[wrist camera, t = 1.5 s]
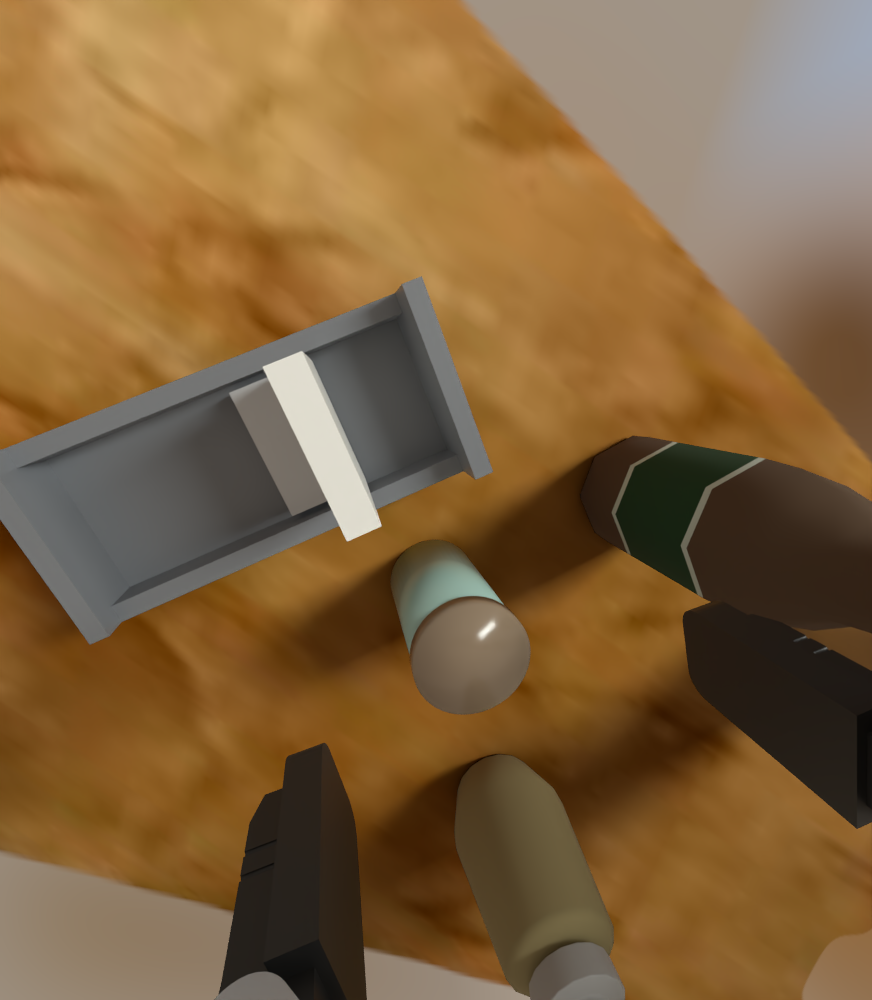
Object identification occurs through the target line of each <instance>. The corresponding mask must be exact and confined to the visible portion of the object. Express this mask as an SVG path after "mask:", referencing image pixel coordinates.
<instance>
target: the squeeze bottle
mask: <svg viewBox="0 0 872 1000" xmlns="http://www.w3.org/2000/svg"><path fill="white" fill-rule="evenodd" d="M454 834H455V842H456V850H457V852H458V855H459V858H460V860H461V863H462V865H463V868H464V871H465V873H466V876H467V878H468V881H469V884H470V886H471V889H472V891H473V894H474V897H475V899H476V902H477V904H478V907H479V910H480V912H481V915H482V918H483V920H484V923H485V925H486V928H487V931H488V933H489V936H490V938H491V941H492V944H493V946H494V949H495V951H496V954H497V957H498V959H499V962H500V964H501V967H502V970H503V972H504V975H505V977H506V980H507V981H508V982H509V983H510V985H511V986H512V987H513V988H514V990H515V991H516V992H519V993H521V994H524V995H527V996H529V997H530V999H531V1000H625V988H624V986H623V984H622V982H621V980H620V978H619V975H618V973H617V971H616V969H615V967H614V965H613V963H612V961H611V959H610V957H609V955H610V953H611V950H612V947H613V944H614V933H613V925H612V922H611V920H610V917H609V915H608V913H607V910H606V908H605V905H604V903H603V901H602V898H601V896H600V893H599V891H598V888H597V886H596V884H595V881H594V879H593V876H592V874H591V872H590V869H589V867H588V864H587V862H586V859H585V857H584V855H583V852H582V850H581V847H580V845H579V843H578V840H577V838H576V835H575V833H574V830H573V828H572V826H571V823H570V821H569V818H568V816H567V814H566V811H565V809H564V806H563V804H562V802H561V800H560V798H559V797H558V795H557V793H556V792H555V790H554V788H553V787H552V786H550V785H549V784H548V783H547V782H546V781H545V780H544V779H542V778H541V777H540V776H539V775H538V774H537V773H535V772H534V771H533V770H532V769H531V768H530V767H529V766H527V765H526V764H525V763H524V762H523V761H521V760H519V759H517V758H516V757H514V756H510V755H501V754H498V755H494V756H490V757H486V758H483V759H482V760H480V761H479V762H477V763H475V764H474V765H472V766H471V767H470V768H469V770H468V771H467V772H466V773H465V774H464V776H463V777H462V779H461V782H460V785H459V788H458V791H457V803H456V816H455V829H454Z"/></svg>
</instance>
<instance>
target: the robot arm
mask: <svg viewBox="0 0 872 1000" xmlns="http://www.w3.org/2000/svg"><path fill="white" fill-rule="evenodd" d="M683 628H684V636H685V644H686V653H687V661H688V669H689V674H690V677H691V679H692V681H693V684H694V685H695V687H696V689H697V690H698V692H699V693H700V694H701V695H702V696H703V698H704V699H706V700H707V701H708V702H709V703H710V704H711V705H712V706H714V707H715V708H716V709H717V710H718V711H719V712H721V713H722V714H723V715H724V716H725V717H727V718H728V719H729V720H730V721H731V722H732V723H734V724H735V725H736V726H737V727H738V728H739V729H741V730H742V731H743V732H744V733H745V734H746V735H748V736H749V737H750V738H751V739H752V740H753V741H755V742H756V743H757V744H758V745H759V746H760V747H762V748H763V749H764V750H765V751H766V752H768V753H769V754H770V755H771V756H772V757H773V758H775V759H776V760H777V761H778V762H779V763H780V764H782V765H783V766H784V767H785V768H786V769H787V770H789V771H790V772H791V773H792V774H793V775H794V776H796V777H797V778H798V779H799V780H800V781H801V782H803V783H804V784H805V785H806V786H807V787H808V788H810V789H811V790H812V791H813V792H814V793H816V794H817V795H818V796H819V797H820V798H821V799H823V800H824V801H825V802H826V803H827V804H828V805H830V806H831V807H832V808H833V809H834V810H835V811H837V812H838V813H839V814H840V815H841V816H842V817H844V818H845V819H846V820H847V821H848V822H849V823H851V824H852V825H853V826H854V827H855V828H857V829H858V828H860V827H862V826H864V825H867V824H869V823H871V822H872V634H871V633H869V632H866V631H862V630H859V629H856V628H853V627H846V628H837V629H827V630H817V631H812V630H806V629H800V628H794V627H789V626H788V625H786V624H784V623H782V622H779V621H776V620H772V619H769V618H765V617H762V616H758V615H754V614H750V615H747V614H745V613H743V612H741V611H740V610H738V609H736V608H734V607H733V606H731V605H729V604H727V603H725V602H723V601H720V600H717V601H713V602H711V603H708V604H705V605H702V606H700V607H697V608H694V609H691V610H689V611H686V612H685V613H684V615H683ZM240 876H241V882H239V887H238V892H237V898H236V904H235V909H234V915H233V921H232V926H231V932H230V938H229V943H228V949H227V955H226V960H225V966H224V971H223V977H222V982H221V987H220V991H219V995H218V996H217V997H216V998H215V999H214V1000H367V997H366V980H365V964H364V947H363V931H362V915H361V898H360V882H359V866H358V850H357V834H356V827H355V821H354V816H353V812H352V808H351V804H350V801H349V798H348V796H347V793H346V791H345V788H344V786H343V783H342V781H341V778H340V775H339V773H338V770H337V768H336V765H335V763H334V760H333V758H332V755H331V753H330V750H329V748H328V746H327V745H326V744H325V743H322V744H320V745H317V746H314V747H312V748H309V749H306V750H303V751H301V752H298V753H295V754H292V755H290V756H288V757H287V759H286V763H285V772H284V781H283V788H282V789H280V790H277V791H274V792H272V793H269V794H266V795H265V796H264V798H263V800H262V801H261V803H260V805H259V807H258V809H257V811H256V812H255V814H254V816H253V818H252V820H251V822H250V824H249V830H248V836H247V841H246V847H245V857H244V858H243V864H242V870H241V875H240Z"/></svg>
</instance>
